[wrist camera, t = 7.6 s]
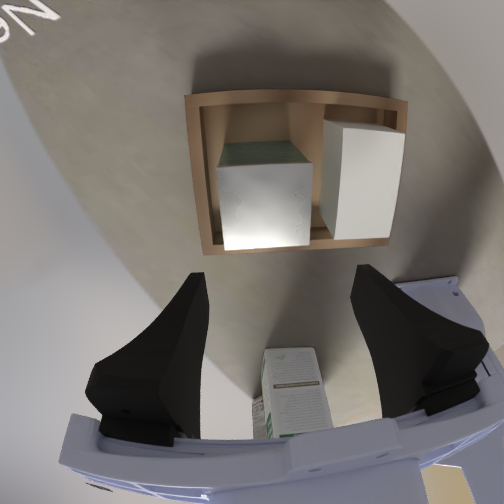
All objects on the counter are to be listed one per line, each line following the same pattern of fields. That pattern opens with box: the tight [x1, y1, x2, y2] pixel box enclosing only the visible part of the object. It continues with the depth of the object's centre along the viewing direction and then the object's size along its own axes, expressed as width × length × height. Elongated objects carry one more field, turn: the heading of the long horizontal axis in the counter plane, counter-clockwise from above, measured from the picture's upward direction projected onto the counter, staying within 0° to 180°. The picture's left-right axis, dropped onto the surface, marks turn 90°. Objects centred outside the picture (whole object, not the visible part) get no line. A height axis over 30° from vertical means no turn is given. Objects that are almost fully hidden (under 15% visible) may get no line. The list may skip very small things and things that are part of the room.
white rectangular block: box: [319, 119, 405, 240], centre depth 17 cm, size 4×7×4 cm, turn 2°
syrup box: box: [261, 347, 334, 439], centre depth 26 cm, size 6×6×14 cm
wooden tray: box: [184, 89, 408, 255], centre depth 18 cm, size 14×11×2 cm
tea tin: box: [216, 140, 313, 250], centre depth 17 cm, size 4×4×6 cm
